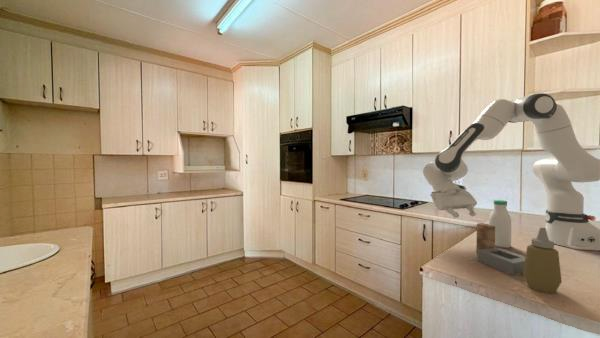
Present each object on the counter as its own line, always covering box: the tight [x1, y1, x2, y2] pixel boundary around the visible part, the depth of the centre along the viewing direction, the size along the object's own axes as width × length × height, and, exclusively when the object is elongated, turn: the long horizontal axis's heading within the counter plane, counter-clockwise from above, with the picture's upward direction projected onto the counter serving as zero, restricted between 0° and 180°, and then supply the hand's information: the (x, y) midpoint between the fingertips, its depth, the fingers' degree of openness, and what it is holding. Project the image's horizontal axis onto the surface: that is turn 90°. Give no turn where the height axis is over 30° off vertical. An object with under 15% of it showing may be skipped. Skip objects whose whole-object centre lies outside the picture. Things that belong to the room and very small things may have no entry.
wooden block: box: [476, 222, 496, 254], centre depth 96 cm, size 5×3×12 cm, turn 16°
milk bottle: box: [488, 199, 512, 249], centre depth 106 cm, size 8×8×20 cm
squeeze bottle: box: [522, 227, 562, 294], centre depth 70 cm, size 8×8×18 cm
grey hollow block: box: [476, 246, 526, 276], centre depth 86 cm, size 12×10×4 cm
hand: (465, 216), depth 104 cm, fingers open, 8 cm apart
